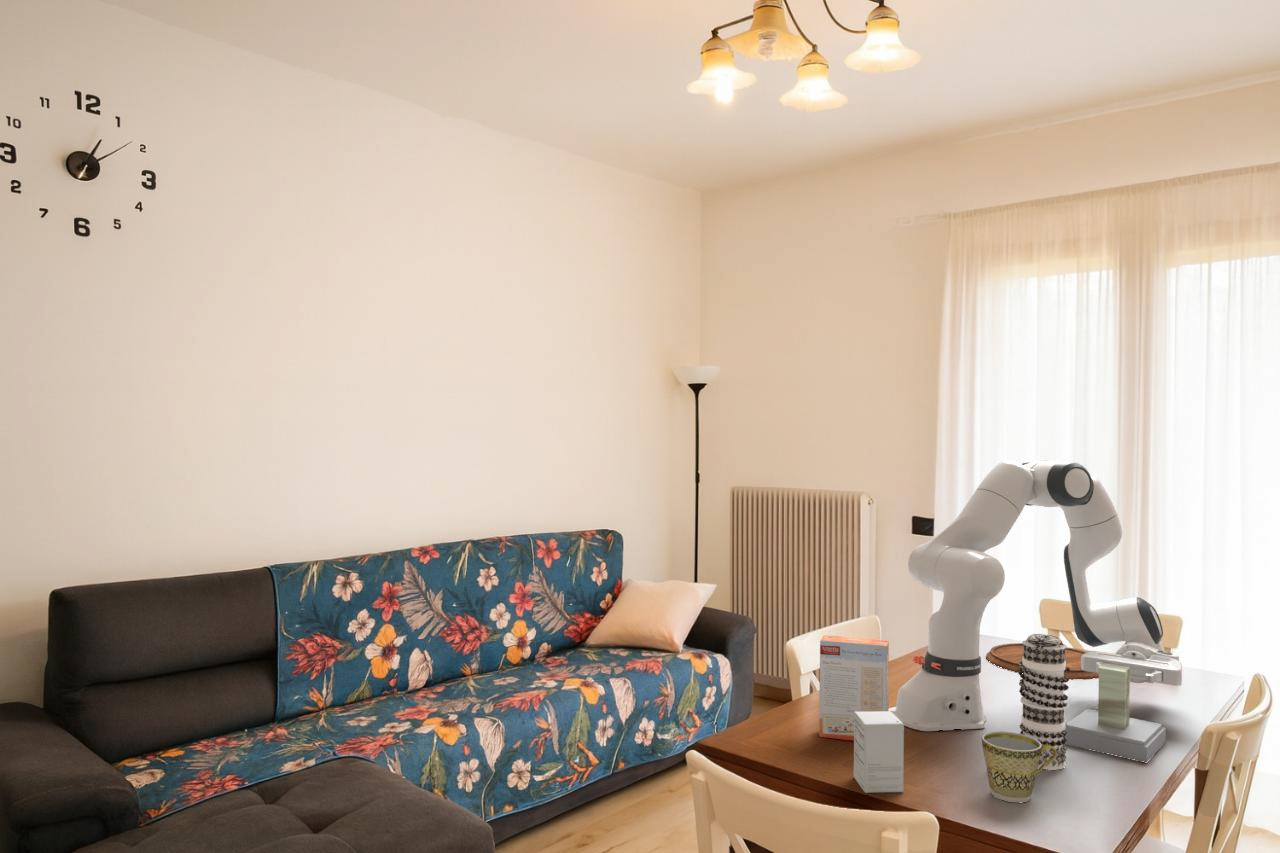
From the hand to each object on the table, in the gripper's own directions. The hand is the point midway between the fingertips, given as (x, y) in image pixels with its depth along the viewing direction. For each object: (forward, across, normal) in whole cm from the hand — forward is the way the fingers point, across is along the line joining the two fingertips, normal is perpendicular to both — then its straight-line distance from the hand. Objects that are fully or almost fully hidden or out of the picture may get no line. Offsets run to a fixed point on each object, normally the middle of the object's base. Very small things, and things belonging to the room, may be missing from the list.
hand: (1124, 675), depth 197 cm
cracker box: (+43, -44, +12) cm, 63 cm away
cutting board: (-49, -28, +13) cm, 58 cm away
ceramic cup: (+53, -8, +12) cm, 55 cm away
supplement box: (+64, -30, +12) cm, 72 cm away
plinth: (+11, 0, +12) cm, 16 cm away
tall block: (+11, 0, +8) cm, 14 cm away
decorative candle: (+32, -9, +12) cm, 36 cm away
